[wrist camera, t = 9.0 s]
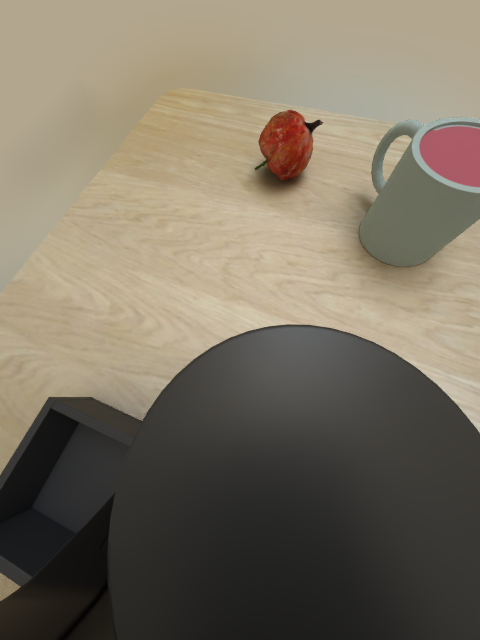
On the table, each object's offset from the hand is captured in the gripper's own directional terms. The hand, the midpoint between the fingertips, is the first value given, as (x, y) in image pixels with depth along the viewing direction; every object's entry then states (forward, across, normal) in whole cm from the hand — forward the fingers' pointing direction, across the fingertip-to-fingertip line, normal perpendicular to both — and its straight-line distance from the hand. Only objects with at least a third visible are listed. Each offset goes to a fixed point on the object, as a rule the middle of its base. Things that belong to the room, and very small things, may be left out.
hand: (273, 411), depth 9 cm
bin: (+6, +15, +14) cm, 21 cm away
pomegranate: (+32, -5, -13) cm, 35 cm away
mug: (+25, -17, -6) cm, 31 cm away
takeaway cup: (+2, 0, +4) cm, 5 cm away
